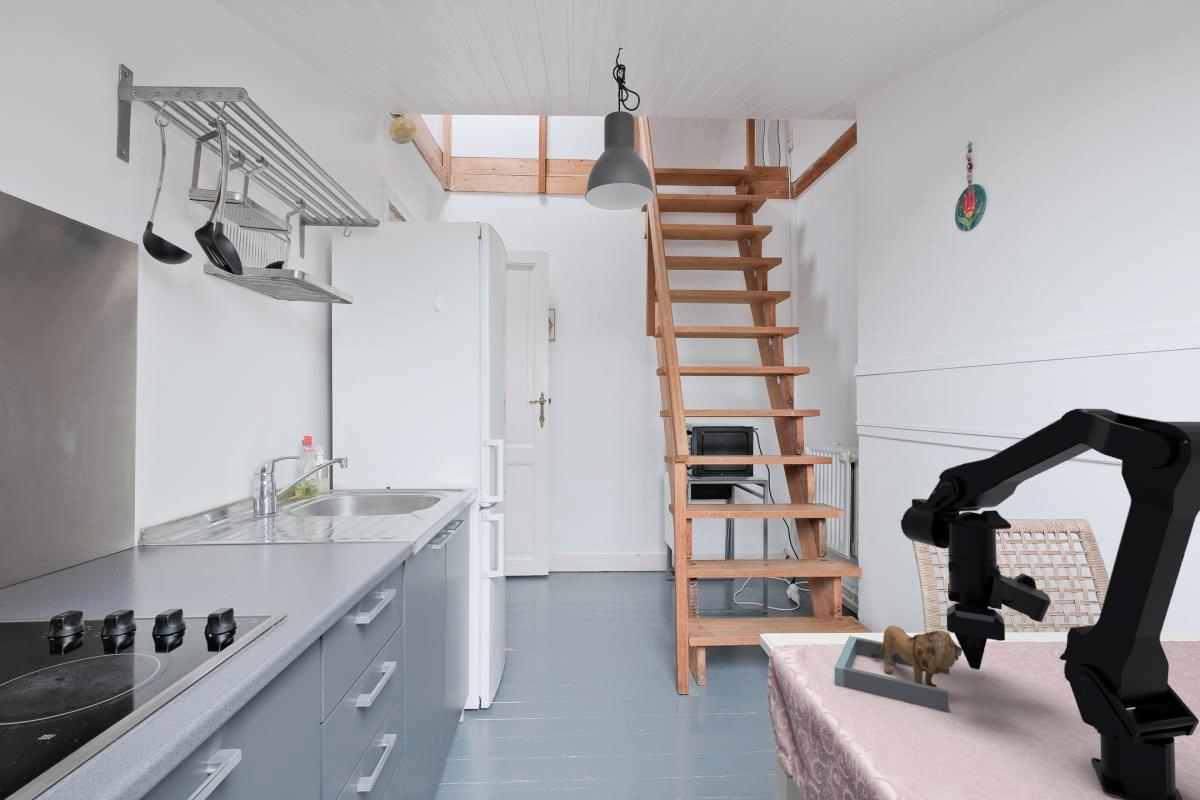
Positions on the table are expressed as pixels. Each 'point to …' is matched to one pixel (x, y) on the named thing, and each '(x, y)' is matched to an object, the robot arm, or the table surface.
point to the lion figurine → (920, 652)
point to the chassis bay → (885, 677)
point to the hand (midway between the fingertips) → (974, 667)
